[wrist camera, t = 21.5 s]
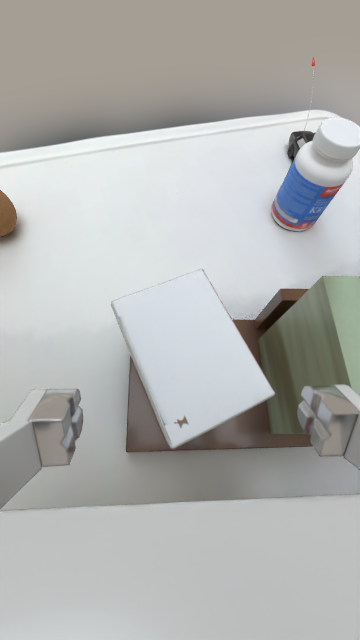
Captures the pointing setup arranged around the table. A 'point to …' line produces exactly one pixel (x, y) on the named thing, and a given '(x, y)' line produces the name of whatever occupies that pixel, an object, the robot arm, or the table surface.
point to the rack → (275, 369)
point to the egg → (6, 215)
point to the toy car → (299, 138)
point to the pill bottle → (316, 174)
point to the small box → (189, 356)
